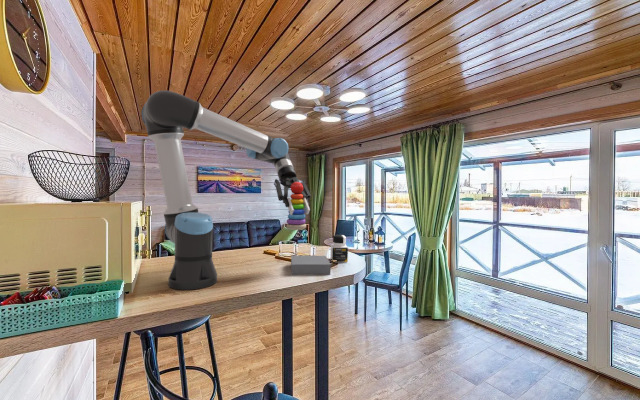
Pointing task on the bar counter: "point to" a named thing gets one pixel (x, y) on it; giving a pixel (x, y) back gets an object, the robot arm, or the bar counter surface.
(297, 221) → the stacking toy
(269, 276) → the bar counter surface
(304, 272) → the charcoal plinth
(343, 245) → the medicine bottle
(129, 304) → the bar counter surface
